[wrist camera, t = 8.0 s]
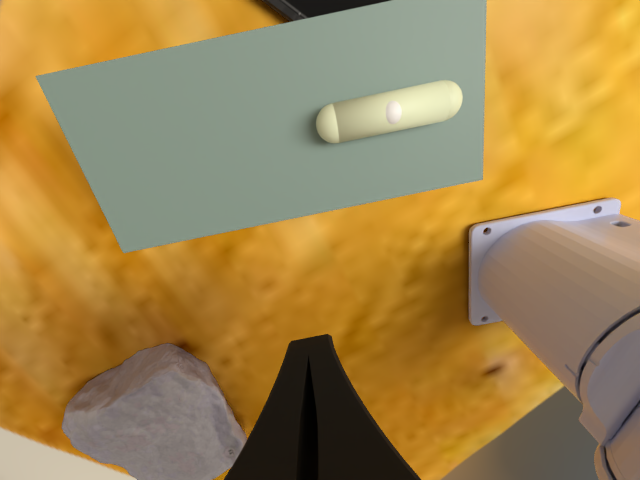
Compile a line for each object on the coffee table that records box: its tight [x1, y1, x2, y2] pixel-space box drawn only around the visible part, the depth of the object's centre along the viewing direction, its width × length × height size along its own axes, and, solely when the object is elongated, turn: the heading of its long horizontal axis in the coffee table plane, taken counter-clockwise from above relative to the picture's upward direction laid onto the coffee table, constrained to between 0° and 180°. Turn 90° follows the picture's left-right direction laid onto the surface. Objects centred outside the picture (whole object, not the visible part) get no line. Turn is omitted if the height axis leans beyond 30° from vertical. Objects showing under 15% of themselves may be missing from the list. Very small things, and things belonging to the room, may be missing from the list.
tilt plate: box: [36, 0, 486, 253], centre depth 12 cm, size 16×7×3 cm, turn 101°
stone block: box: [62, 343, 247, 480], centre depth 24 cm, size 12×5×10 cm
